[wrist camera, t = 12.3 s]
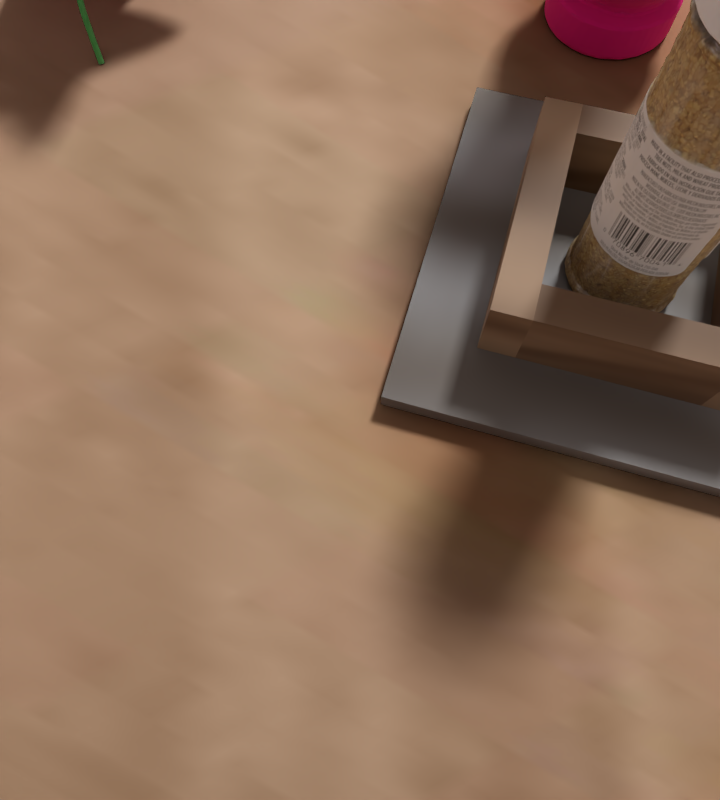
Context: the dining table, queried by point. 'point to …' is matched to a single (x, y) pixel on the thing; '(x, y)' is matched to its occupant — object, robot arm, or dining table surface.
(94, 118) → the dining table surface
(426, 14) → the dining table surface
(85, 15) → the lily
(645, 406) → the socket holder
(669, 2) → the pepper mill
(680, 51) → the sprinkles bottle
